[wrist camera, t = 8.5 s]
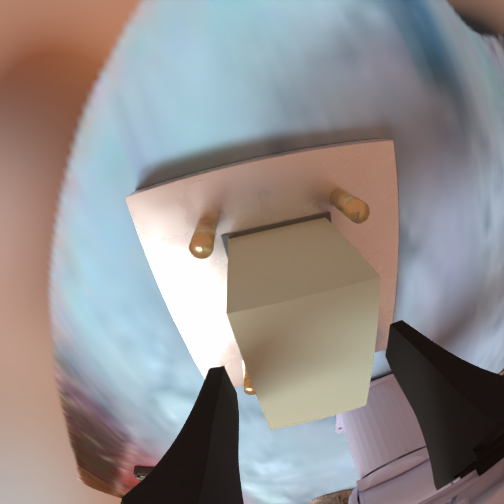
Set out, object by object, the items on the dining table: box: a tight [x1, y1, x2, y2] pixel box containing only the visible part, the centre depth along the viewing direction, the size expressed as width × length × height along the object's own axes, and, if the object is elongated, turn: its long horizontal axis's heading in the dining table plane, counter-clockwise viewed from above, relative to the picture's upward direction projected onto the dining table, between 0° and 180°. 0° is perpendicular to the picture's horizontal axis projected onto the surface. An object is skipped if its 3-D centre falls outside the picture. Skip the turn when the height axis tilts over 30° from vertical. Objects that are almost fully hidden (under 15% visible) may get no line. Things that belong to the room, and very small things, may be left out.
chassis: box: [125, 139, 399, 395], centre depth 15 cm, size 15×14×4 cm
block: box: [226, 217, 381, 430], centre depth 13 cm, size 8×5×6 cm, turn 12°
